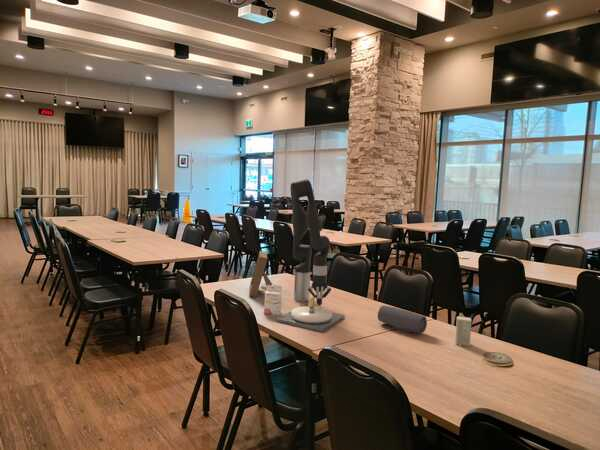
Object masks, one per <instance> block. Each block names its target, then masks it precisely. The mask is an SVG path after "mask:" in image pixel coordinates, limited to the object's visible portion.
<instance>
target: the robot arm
mask: <svg viewBox="0 0 600 450" xmlns="http://www.w3.org/2000/svg"><path fill="white" fill-rule="evenodd" d="M289 188H290V198H291V206H292V207H291V209H292V232H293V234H292V235H293V244H292V245H293V246H292V247H293V249H292V256H293V259H294V260H296V261H305V262H303V263H300V264H298V265H295V267H294V286H293V287H294V288H293V289H294V290H293V300H295V301H297V302H309V298H310V295H312V296H311V297H313V298H314V299H316V302H315V303H316V305H317V307H319V306H320V307H321V306H322V304H323V299H324V298H326V297H327V296H328V295H329V293H330V292H331V291H332V287H330V286H328V282H327V281H328V280H327V279H328V266H327V264H328V263H327V262H328V261H327V260H328V254H329V251H330V247H331V242H330V239H329V238H330V237H328V236H326V235H320V233H321V231H322V230H323V225H322V222H321V220H320V216H319V213H318V210H317V204H316V199H315V194H314V189H313V187H312V183H311V181H310V180H309V179H307V178H305V179H299V180H296V181H292V182H291V183H290V187H289ZM304 197H307V202H308V203H307V209H306V210H305V209H304V208H303V206H302V205H301V203H300V198H304ZM308 230H309V239H310V240H309V242H310V244H300V242H301V240H302V238H303V237H304V235H306V233H307V232H308ZM313 250H315V251H317V253H315V254H314V255H313V265H312V284H311V264H312V263H311V262H312V251H313ZM314 292H315V293H314Z"/></svg>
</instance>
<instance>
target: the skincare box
mask: <svg viewBox="0 0 600 450" xmlns="http://www.w3.org/2000/svg"><path fill="white" fill-rule="evenodd" d="M471 330H472V318H471V317H465V316H456V325H455V340H454V341H455V342H454V343H455V345H456V344H460V345H459V346H462V345H468V346H467V347H469V346H471V337H472V335H471V333H472V331H471Z"/></svg>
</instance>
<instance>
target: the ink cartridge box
mask: <svg viewBox="0 0 600 450" xmlns="http://www.w3.org/2000/svg"><path fill="white" fill-rule="evenodd" d="M263 305H264V307H263V310H264V311H263V314H265V315H275V316H280V315H281V311H282V286H281V285H273V284H272V285H267V286H266V291H265V292H264V304H263Z"/></svg>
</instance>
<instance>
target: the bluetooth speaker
mask: <svg viewBox="0 0 600 450" xmlns="http://www.w3.org/2000/svg"><path fill="white" fill-rule="evenodd" d="M377 319H378V321H379V322H381V323H383V324H386V325H388V326H390V327H391V328H393V329H395V330H398V331H401V330H402V331H401V332H405V331H406V332H405V333H411V332H413V333H416V334H423V333H424V332H425V331H426V329H427V325H428V320H427V317H426V316H425V315H422V314H420V313H417V312H413V311H410V310H407V309H402V308H398V307H395V306H390V305H383V304H382V305H381V306H380V307H379V309H378V312H377Z"/></svg>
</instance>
